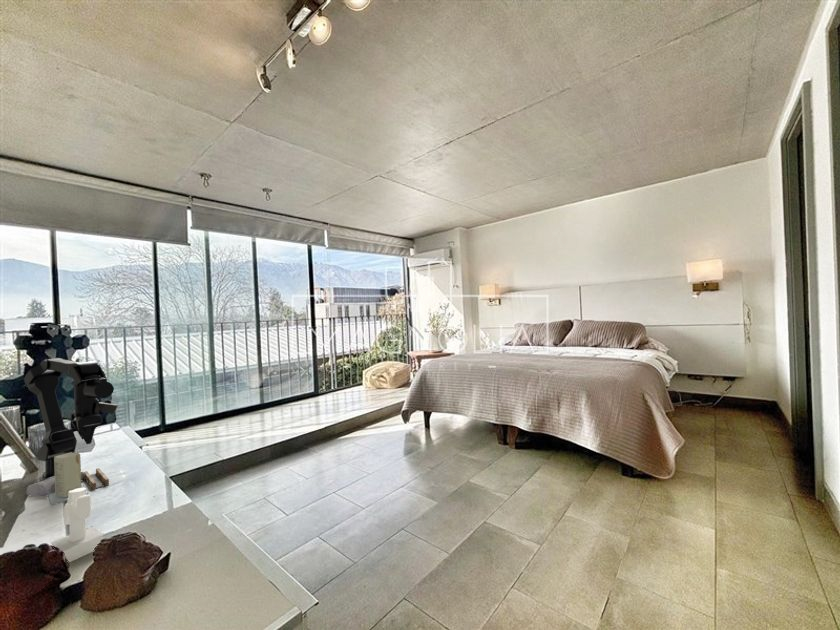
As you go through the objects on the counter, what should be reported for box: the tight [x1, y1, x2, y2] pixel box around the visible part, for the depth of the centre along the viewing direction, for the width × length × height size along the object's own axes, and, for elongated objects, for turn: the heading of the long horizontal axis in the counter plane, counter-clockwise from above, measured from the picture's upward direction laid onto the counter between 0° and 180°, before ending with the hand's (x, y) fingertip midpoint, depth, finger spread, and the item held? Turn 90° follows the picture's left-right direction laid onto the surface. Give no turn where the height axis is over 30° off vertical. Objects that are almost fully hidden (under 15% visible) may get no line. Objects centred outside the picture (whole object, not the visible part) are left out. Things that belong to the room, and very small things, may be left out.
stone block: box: [26, 471, 85, 497], centre depth 118 cm, size 12×5×10 cm
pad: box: [47, 484, 89, 506], centre depth 112 cm, size 10×8×1 cm
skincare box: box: [54, 452, 82, 497], centre depth 112 cm, size 6×4×12 cm
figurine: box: [50, 487, 105, 563], centre depth 82 cm, size 7×9×15 cm
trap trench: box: [83, 467, 110, 490], centre depth 121 cm, size 16×4×2 cm, turn 51°
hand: (86, 441), depth 124 cm, fingers open, 9 cm apart
